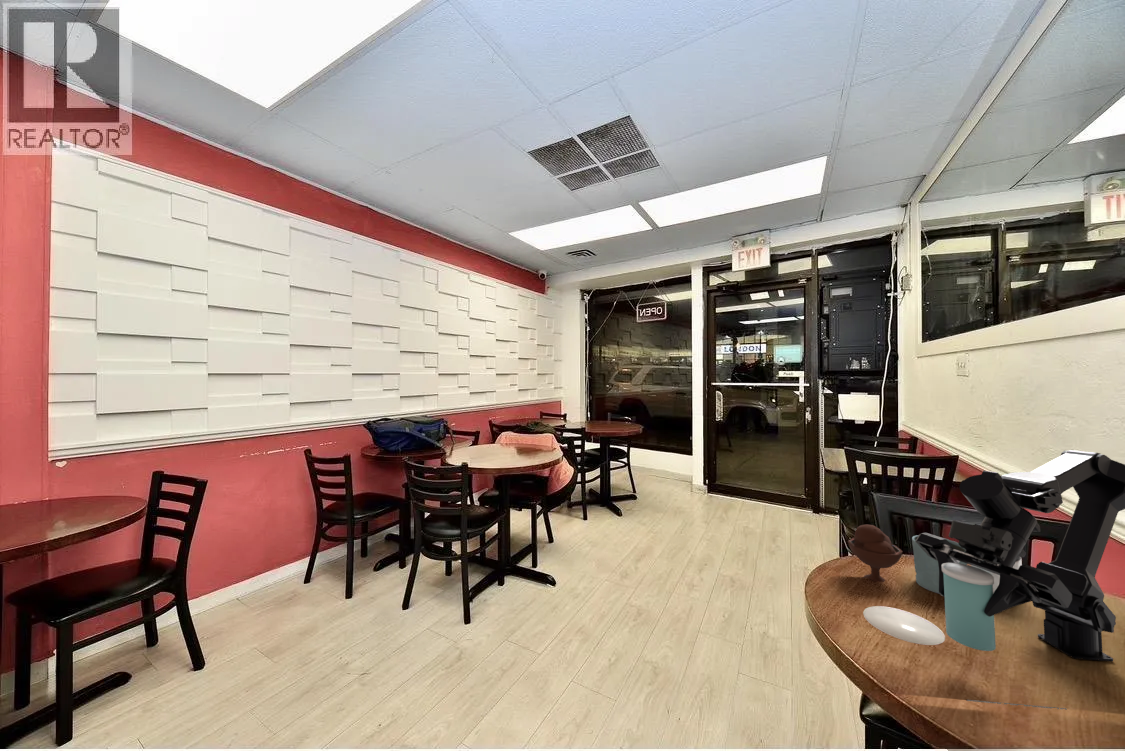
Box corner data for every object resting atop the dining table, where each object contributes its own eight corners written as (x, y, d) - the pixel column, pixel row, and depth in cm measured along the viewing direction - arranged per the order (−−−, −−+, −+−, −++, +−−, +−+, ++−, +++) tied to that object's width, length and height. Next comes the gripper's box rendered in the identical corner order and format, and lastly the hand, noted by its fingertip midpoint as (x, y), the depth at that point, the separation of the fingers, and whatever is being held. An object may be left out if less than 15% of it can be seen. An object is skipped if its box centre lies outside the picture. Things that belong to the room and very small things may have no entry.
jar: (1036, 601, 90) (1033, 550, 90) (1004, 603, 89) (1001, 552, 90) (991, 581, 99) (989, 535, 99) (961, 583, 98) (959, 536, 99)
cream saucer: (912, 612, 87) (912, 608, 87) (964, 652, 74) (964, 647, 74) (850, 608, 88) (850, 604, 89) (889, 647, 76) (889, 642, 76)
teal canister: (956, 624, 72) (953, 560, 72) (1005, 645, 66) (1002, 576, 66) (936, 632, 69) (933, 566, 70) (985, 656, 63) (981, 583, 64)
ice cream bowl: (906, 598, 92) (904, 536, 93) (849, 584, 99) (847, 526, 99) (901, 579, 101) (899, 522, 101) (849, 568, 107) (847, 514, 108)
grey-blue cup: (912, 576, 102) (910, 531, 102) (966, 589, 96) (964, 541, 96) (915, 593, 94) (913, 544, 95) (974, 607, 88) (972, 555, 88)
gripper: (919, 492, 78) (881, 553, 75) (1056, 524, 60) (1012, 607, 57) (949, 526, 80) (912, 587, 77) (1090, 567, 62) (1049, 649, 59)
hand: (962, 604), depth 67 cm, fingers closed on teal canister, 6 cm apart
